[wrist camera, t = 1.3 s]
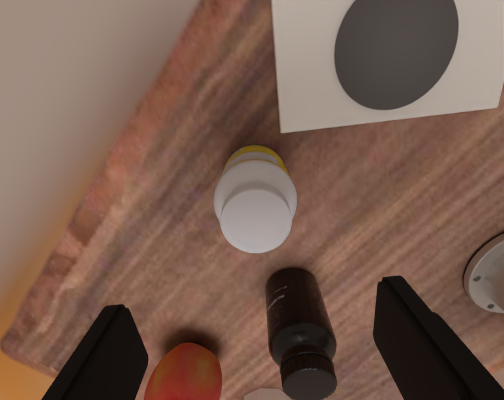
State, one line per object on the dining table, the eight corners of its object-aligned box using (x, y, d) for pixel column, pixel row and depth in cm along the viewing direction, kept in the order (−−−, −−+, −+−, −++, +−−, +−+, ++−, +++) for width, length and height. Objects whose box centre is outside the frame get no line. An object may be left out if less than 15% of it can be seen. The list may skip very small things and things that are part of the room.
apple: (147, 343, 37) (112, 426, 27) (199, 316, 35) (180, 396, 26) (188, 379, 40) (168, 465, 31) (238, 357, 38) (233, 441, 29)
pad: (466, -36, 19) (470, -39, 19) (443, 102, 23) (446, 103, 23) (334, -17, 20) (336, -20, 19) (333, 116, 24) (335, 116, 23)
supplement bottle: (265, 266, 32) (272, 358, 20) (320, 266, 32) (357, 359, 20) (264, 307, 34) (269, 409, 23) (314, 308, 34) (344, 410, 23)
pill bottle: (265, 210, 29) (273, 279, 18) (214, 184, 27) (189, 241, 17) (296, 161, 26) (326, 205, 16) (241, 130, 25) (233, 156, 14)
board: (522, -55, 20) (538, -63, 19) (486, 107, 24) (497, 107, 23) (269, -18, 21) (270, -24, 20) (279, 131, 25) (281, 133, 24)
